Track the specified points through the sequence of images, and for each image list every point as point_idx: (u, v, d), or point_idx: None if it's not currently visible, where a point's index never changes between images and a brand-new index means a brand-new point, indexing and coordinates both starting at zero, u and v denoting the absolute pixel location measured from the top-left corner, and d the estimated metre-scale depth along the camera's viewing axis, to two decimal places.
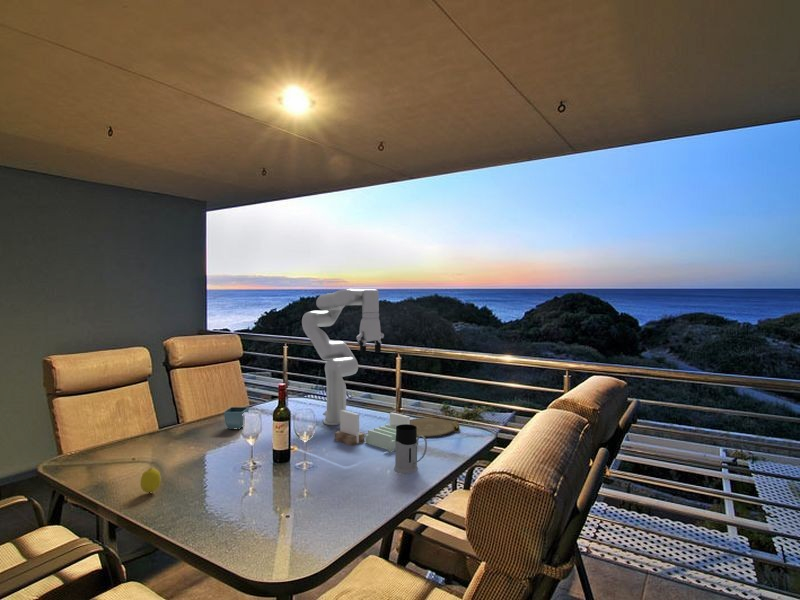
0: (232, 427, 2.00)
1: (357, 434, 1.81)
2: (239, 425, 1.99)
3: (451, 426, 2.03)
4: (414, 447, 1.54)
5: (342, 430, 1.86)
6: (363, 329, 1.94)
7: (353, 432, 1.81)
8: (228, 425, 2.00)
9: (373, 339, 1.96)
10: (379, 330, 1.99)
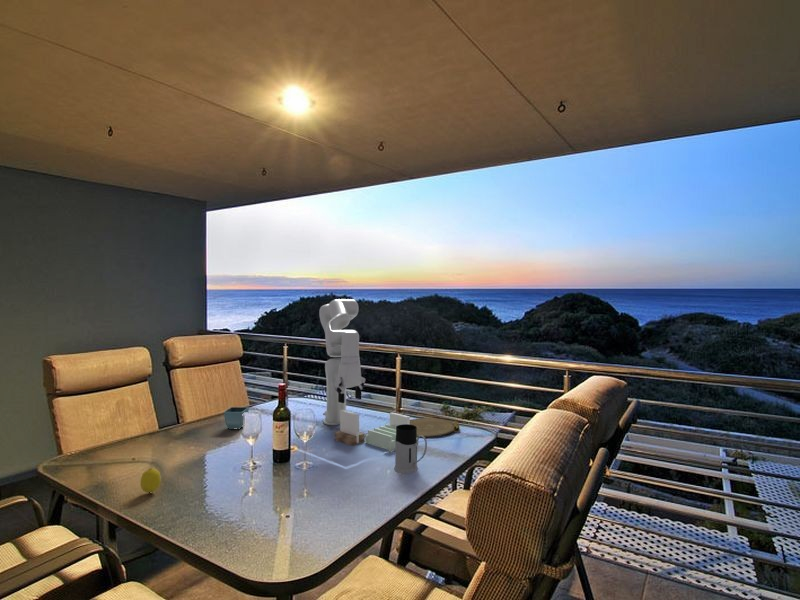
0: (232, 427, 2.00)
1: (357, 434, 1.81)
2: (239, 425, 1.99)
3: (451, 426, 2.03)
4: (414, 447, 1.54)
5: (342, 430, 1.86)
6: (341, 375, 1.80)
7: (353, 432, 1.81)
8: (228, 425, 2.00)
9: (352, 385, 1.82)
10: (359, 375, 1.85)
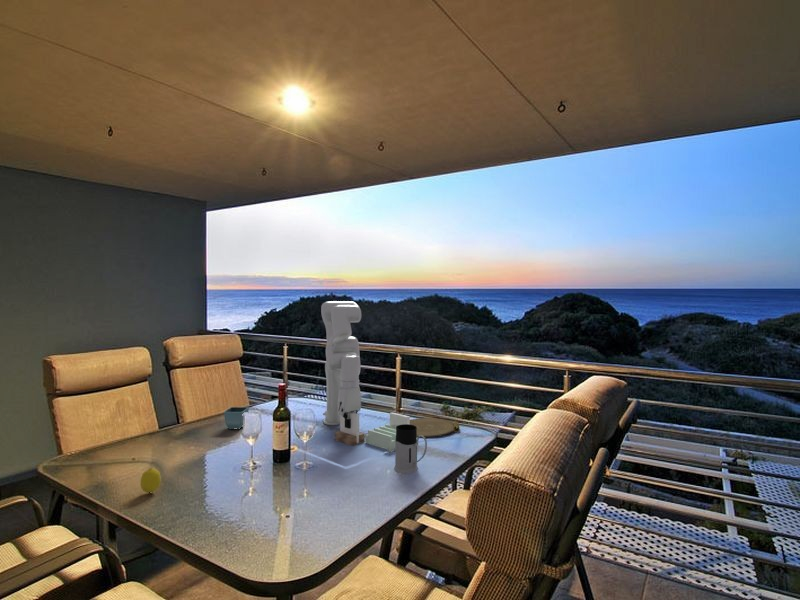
0: (232, 427, 2.00)
1: (357, 434, 1.81)
2: (239, 425, 1.99)
3: (451, 426, 2.03)
4: (414, 447, 1.54)
5: (342, 430, 1.86)
6: (341, 399, 1.80)
7: (353, 432, 1.81)
8: (228, 425, 2.00)
9: (352, 409, 1.83)
10: (359, 398, 1.86)
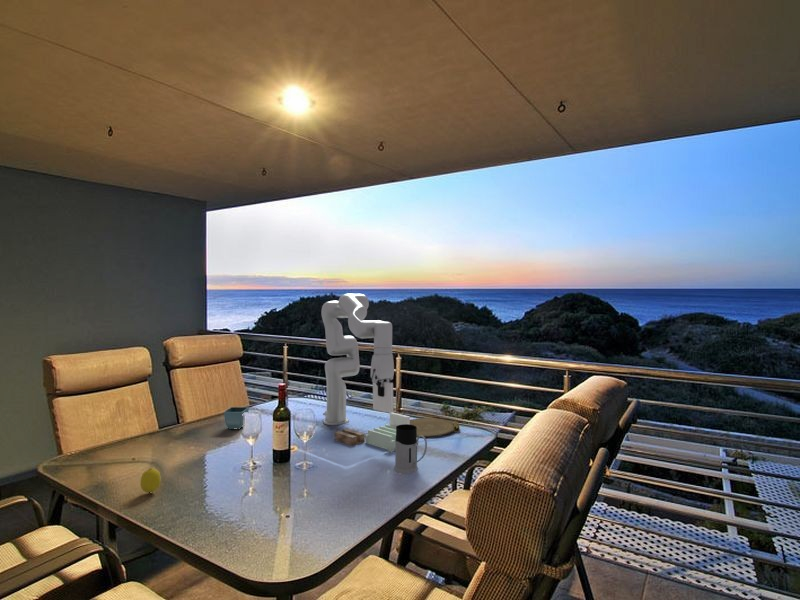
0: (232, 427, 2.00)
1: (391, 403, 1.76)
2: (239, 425, 1.99)
3: (451, 426, 2.03)
4: (414, 447, 1.54)
5: (375, 401, 1.81)
6: (375, 366, 1.75)
7: (387, 401, 1.76)
8: (228, 425, 2.00)
9: (386, 377, 1.78)
10: (392, 366, 1.81)
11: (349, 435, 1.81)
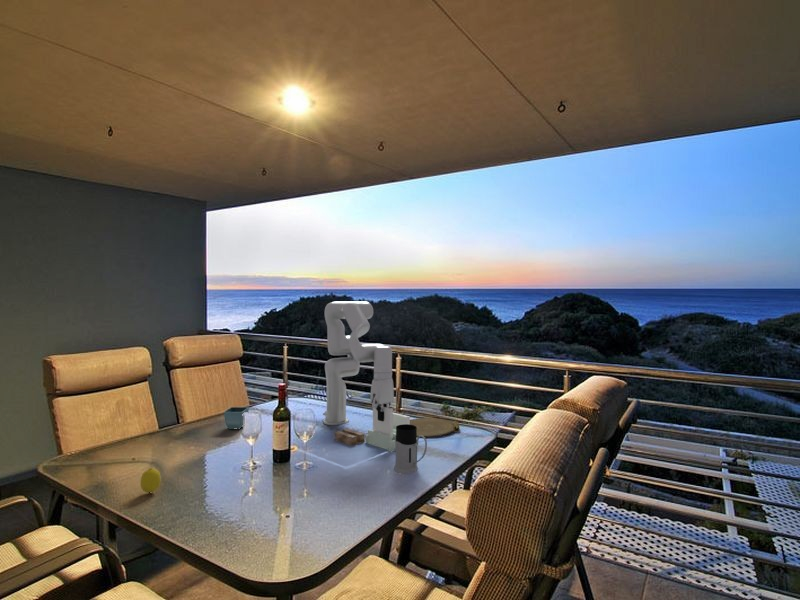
0: (232, 427, 2.00)
1: (391, 429, 1.76)
2: (239, 425, 1.99)
3: (451, 426, 2.03)
4: (414, 447, 1.54)
5: (375, 426, 1.81)
6: (375, 391, 1.75)
7: (387, 427, 1.76)
8: (228, 425, 2.00)
9: (386, 401, 1.78)
10: (392, 390, 1.81)
11: (349, 435, 1.81)
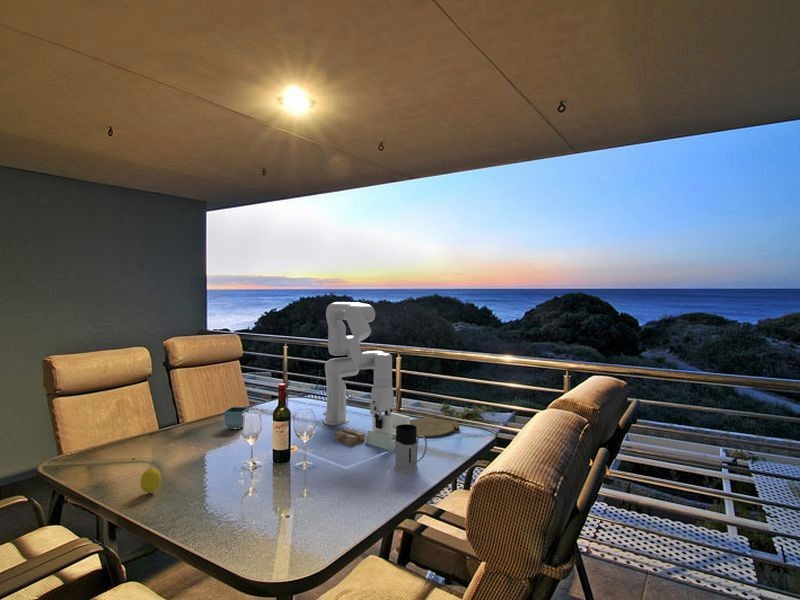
0: (232, 427, 2.00)
1: None
2: (239, 425, 1.99)
3: (451, 426, 2.03)
4: (414, 447, 1.54)
5: None
6: (375, 399, 1.75)
7: None
8: (228, 425, 2.00)
9: (385, 409, 1.78)
10: (392, 398, 1.81)
11: (349, 435, 1.81)
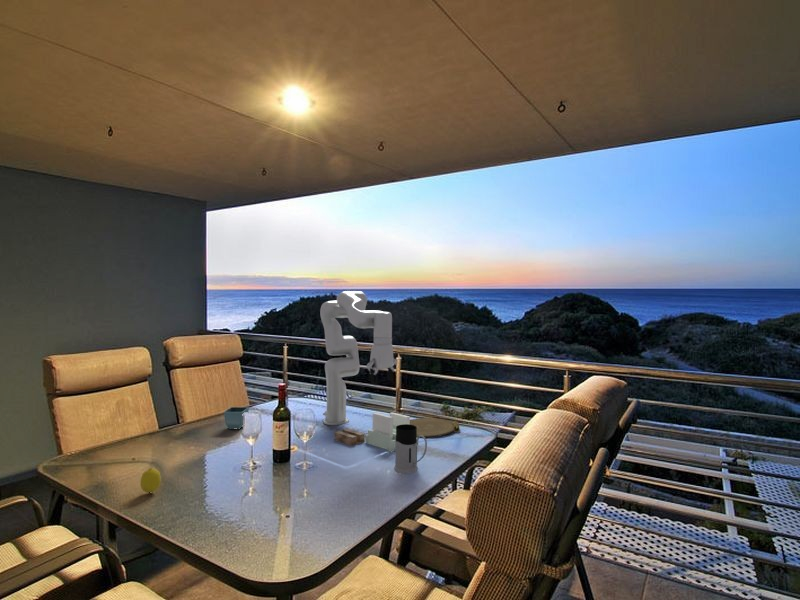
0: (232, 427, 2.00)
1: None
2: (239, 425, 1.99)
3: (451, 426, 2.03)
4: (414, 447, 1.54)
5: None
6: (374, 356, 1.76)
7: None
8: (228, 425, 2.00)
9: (385, 367, 1.79)
10: (392, 356, 1.82)
11: (349, 435, 1.81)
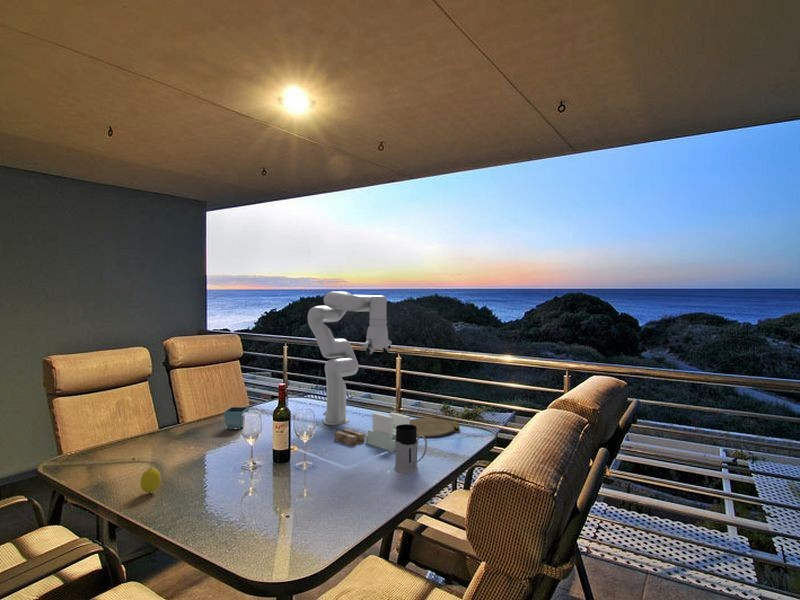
0: (232, 427, 2.00)
1: None
2: (239, 425, 1.99)
3: (451, 426, 2.03)
4: (414, 447, 1.54)
5: None
6: (370, 336, 1.89)
7: None
8: (228, 425, 2.00)
9: (380, 347, 1.91)
10: (387, 337, 1.94)
11: (349, 435, 1.81)
